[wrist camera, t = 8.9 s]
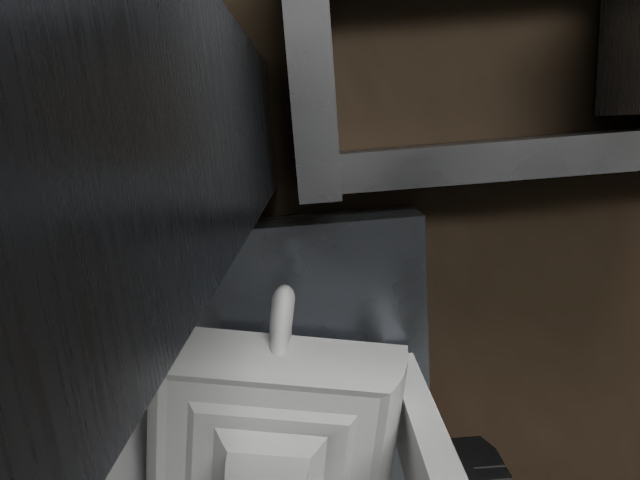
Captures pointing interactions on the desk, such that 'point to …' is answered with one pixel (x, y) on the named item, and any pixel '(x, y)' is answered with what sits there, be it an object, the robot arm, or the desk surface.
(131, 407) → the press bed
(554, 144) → the lever guide
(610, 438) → the desk surface
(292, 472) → the stamp
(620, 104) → the lever
